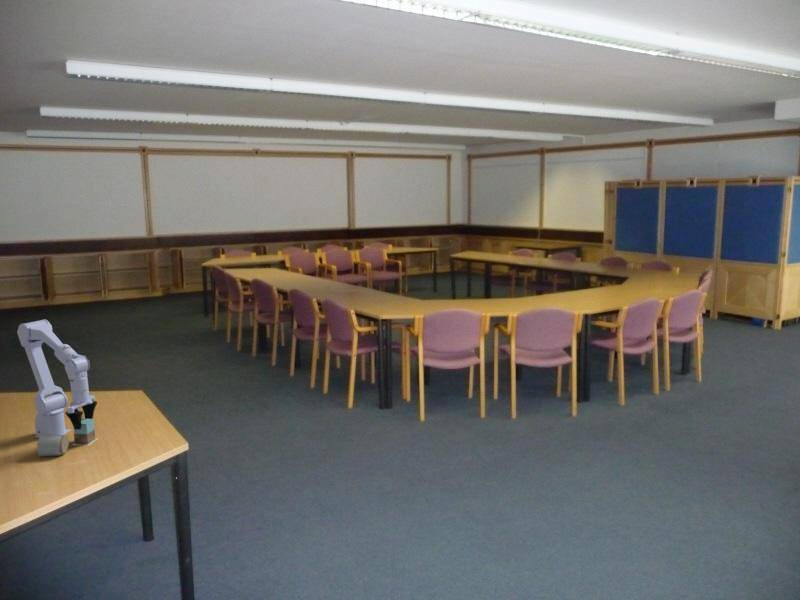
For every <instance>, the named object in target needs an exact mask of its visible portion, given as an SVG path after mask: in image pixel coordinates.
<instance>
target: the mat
mask: <svg viewBox="0 0 800 600" xmlns="http://www.w3.org/2000/svg"><path fill="white" fill-rule="evenodd" d="M98 439H99V437H97V438H96V437H95V440H93V441H92V442H91V443H89V444H75V442H74V443H73V444H71V445H72V446H90V445H92V444H93V443H94V442H96V441H97V440H98Z"/></svg>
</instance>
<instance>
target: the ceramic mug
mask: <svg viewBox="0 0 800 600" xmlns="http://www.w3.org/2000/svg"><path fill="white" fill-rule="evenodd" d="M36 447H37V448H36V449H37V454H38V456H39V457H42V458H43V457H56V456H59V457H60V456H63V455H65V454H66V453H67V452H68V449H69V437H68V436H67V435H66V434H64V435H55V434H42V435H41V436H40V438H38V441H37V446H36Z"/></svg>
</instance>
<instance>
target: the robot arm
mask: <svg viewBox="0 0 800 600" xmlns="http://www.w3.org/2000/svg"><path fill="white" fill-rule="evenodd" d="M16 333H17V336H18V339H19V342H20V345H21V347H23V348H24V350H25V353H26V355H27V358H28V362H29V364H30V366H31V370H32V373H33V376H34V379H35V381H36V384H37V387H38V389H39V390H37V392H36V394H35V395H34V397H33V399H34V402H35V403H34V406H35V410H36V412H37V413H36V415H35V418H34V425H35V434H36V435H35V438H37V439H39V438H40V436H41V435H42V434H55V435H66V434H68V432H70V431H71V429H70V428H66V423H65V421H66V420H65V415H66V416H67V417H68V419H69V420H70V422H71V424H72V427H73V430H74V429H81V419H83V418H82V417H83V415H84V419H94V413H95V410H96V407H97V405H98V401H97V400H96V397H95V394H90V391H89V390H90V389H89V379H88V371H89V370H90V368H91V364H90V360H89V358H87V356H86V355H81V354H78V353H77V352H76V351H75V350H74V349H73V348H72V347H71V346H70V345H69V344H66V343H63V342H62V341H61V340H60V338H59V337H57V336H58V335H56V334H55V333H54V332H53V326H52V324H51V323H50V322H49V320H47V319H45V318H44V319H41V320H36V321H31V322H25V323H20V324H19V326H18V329H17V332H16ZM43 343H45V344H46V345H47V346H49V347H50V348H51V349H53V351H54V353H53V354H54V356H55V358H57V359H58V360H59V361H60V362H61V364H63V365H64V370H65V372H66V374H67V378H68V380H69V382H70V383H69V384H70V392H71V393H70V394H71V403H70V405H69V406H68V403H69V402H68V401H69V400H68V397H67V395H66V394H65V393H64V390H63V388H62V387H60V386H57V385H55V383H54V380H53V376H52V374H51V371H50V368H49V365H48V363H47V359H46V357H45V354H44V352H43V349H42V345H43ZM67 406H68V407H67ZM66 407H67V408H66ZM80 408H82V410H79V409H80ZM65 410H67V411H65ZM64 411H65V413H64Z"/></svg>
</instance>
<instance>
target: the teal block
mask: <svg viewBox="0 0 800 600" xmlns="http://www.w3.org/2000/svg"><path fill="white" fill-rule="evenodd" d="M95 427H96V425H95V419H94V418H93V419H85V418H81V429H74V428H73V435H74V434H88V433H90V432H91V431H93V430H95V429H96V428H95Z"/></svg>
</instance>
